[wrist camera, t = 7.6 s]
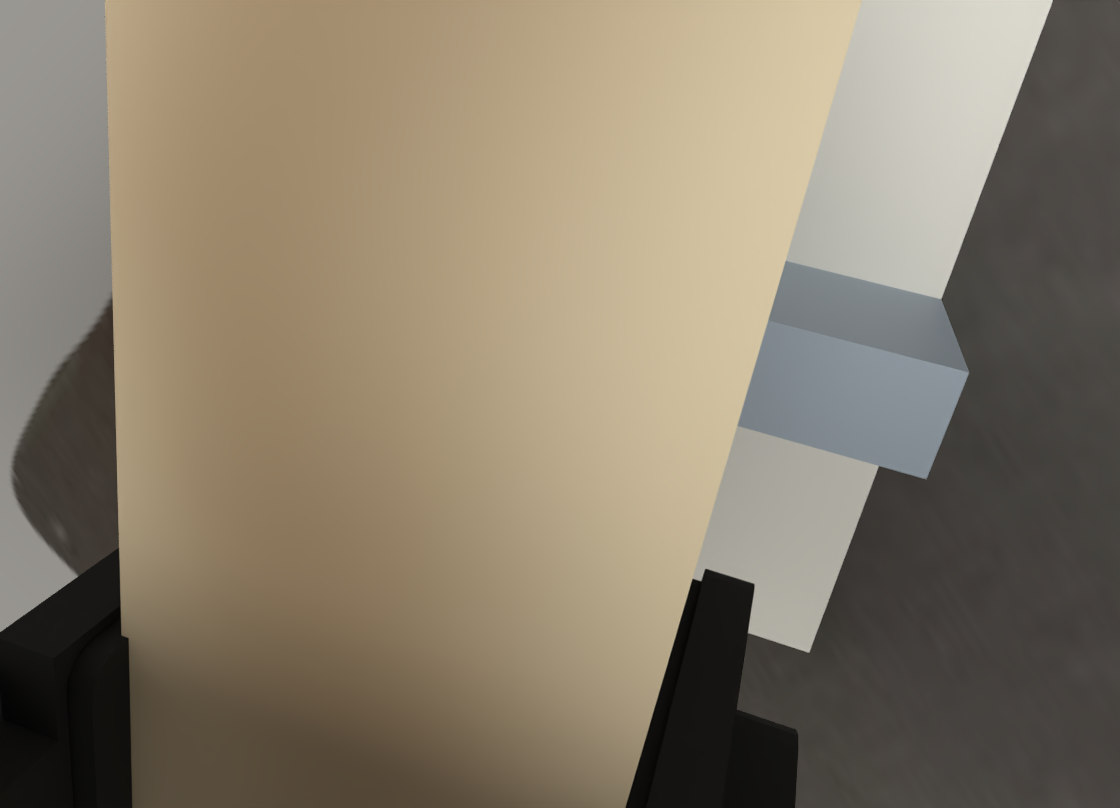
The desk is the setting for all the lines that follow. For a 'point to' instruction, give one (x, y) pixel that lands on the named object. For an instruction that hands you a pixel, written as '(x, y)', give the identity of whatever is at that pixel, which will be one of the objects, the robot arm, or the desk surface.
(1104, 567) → the desk surface
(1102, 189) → the desk surface
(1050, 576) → the desk surface
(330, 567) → the rod
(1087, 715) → the desk surface
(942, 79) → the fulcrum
